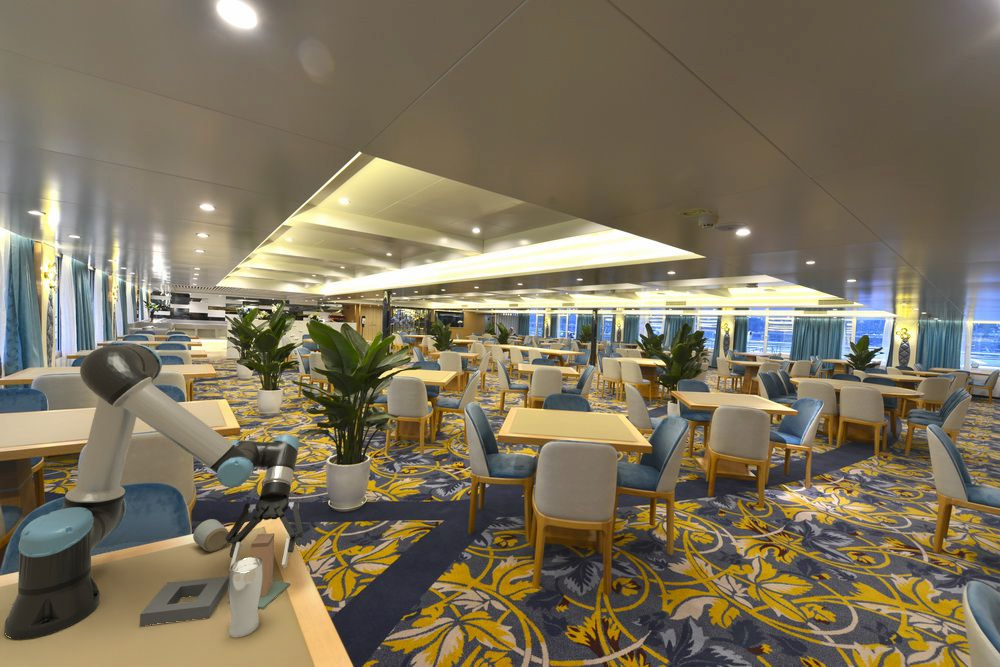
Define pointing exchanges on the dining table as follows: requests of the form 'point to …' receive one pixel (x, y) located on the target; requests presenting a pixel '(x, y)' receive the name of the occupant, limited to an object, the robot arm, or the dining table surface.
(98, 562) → the dining table surface
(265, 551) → the brown tall block
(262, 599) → the mat
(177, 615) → the socket block
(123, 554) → the dining table surface
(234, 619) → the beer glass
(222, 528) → the ceramic mug
